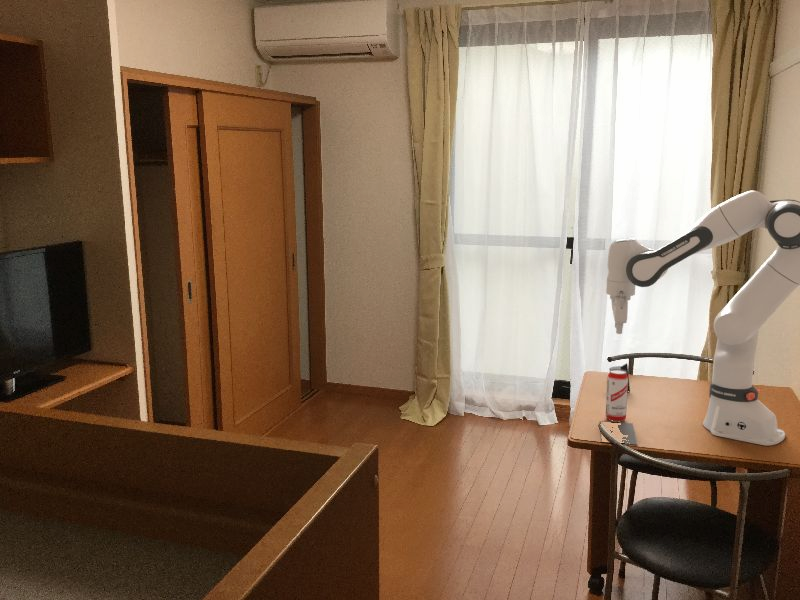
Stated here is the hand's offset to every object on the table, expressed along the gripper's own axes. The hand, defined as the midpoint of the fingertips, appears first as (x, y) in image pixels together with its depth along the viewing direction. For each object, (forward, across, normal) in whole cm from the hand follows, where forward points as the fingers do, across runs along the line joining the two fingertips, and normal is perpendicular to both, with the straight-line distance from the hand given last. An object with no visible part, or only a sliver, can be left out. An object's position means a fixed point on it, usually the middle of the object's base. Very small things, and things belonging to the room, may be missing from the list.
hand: (618, 330), depth 224 cm
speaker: (+28, +21, -2) cm, 35 cm away
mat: (+27, -20, 0) cm, 34 cm away
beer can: (+28, -8, 0) cm, 29 cm away
